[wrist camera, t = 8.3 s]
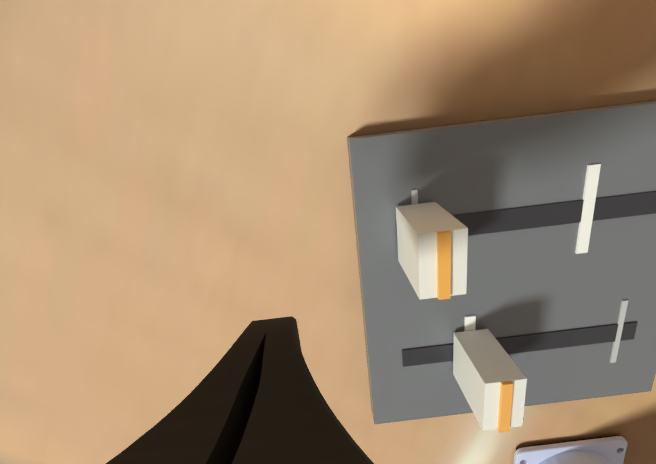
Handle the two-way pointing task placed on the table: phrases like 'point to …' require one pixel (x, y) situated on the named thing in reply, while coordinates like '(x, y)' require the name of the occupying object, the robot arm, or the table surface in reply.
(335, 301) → the table surface
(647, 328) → the console
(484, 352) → the fader
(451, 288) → the fader
